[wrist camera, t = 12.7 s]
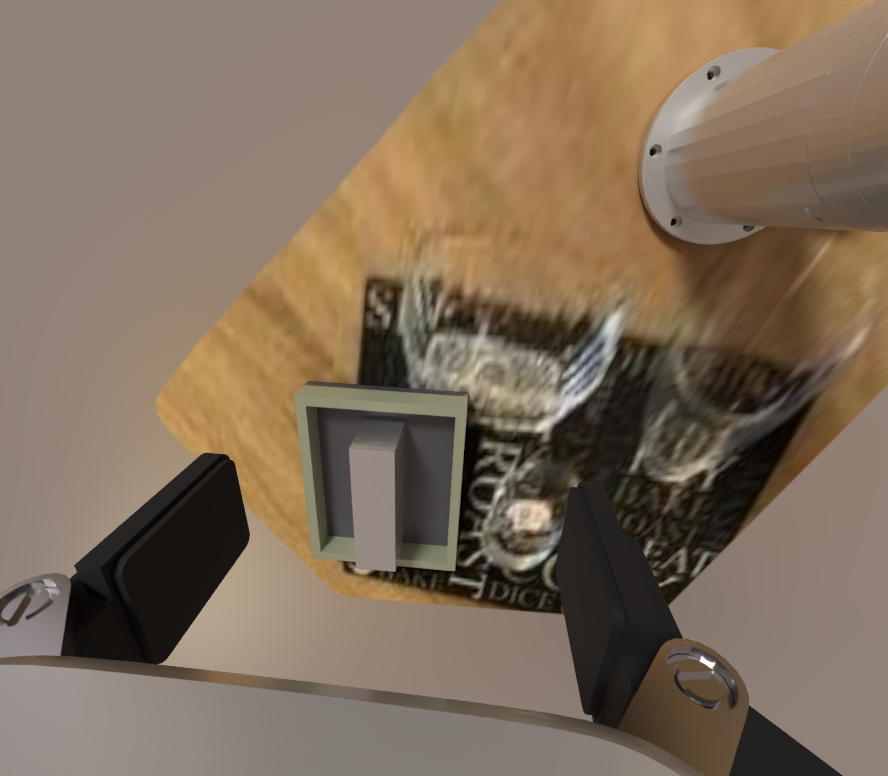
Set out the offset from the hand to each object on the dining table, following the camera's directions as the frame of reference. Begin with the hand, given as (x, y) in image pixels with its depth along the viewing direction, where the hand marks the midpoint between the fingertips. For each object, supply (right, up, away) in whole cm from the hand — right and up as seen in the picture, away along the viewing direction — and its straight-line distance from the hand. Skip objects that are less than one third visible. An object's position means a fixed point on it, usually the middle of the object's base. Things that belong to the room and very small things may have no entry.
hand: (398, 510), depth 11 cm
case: (-5, -6, +33) cm, 34 cm away
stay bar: (-5, -6, +32) cm, 33 cm away
